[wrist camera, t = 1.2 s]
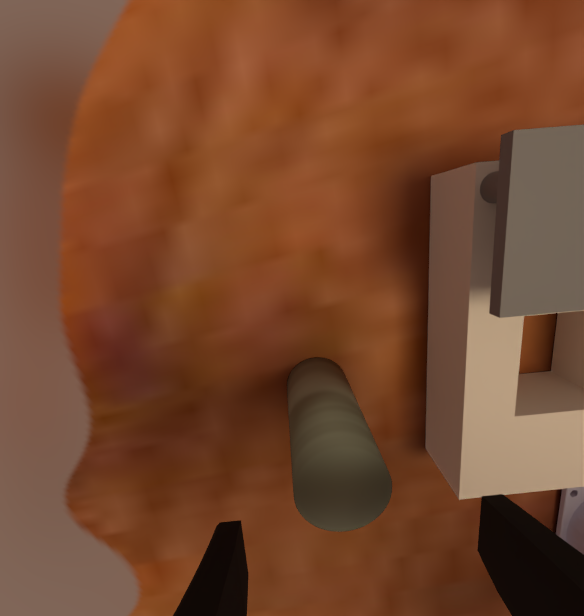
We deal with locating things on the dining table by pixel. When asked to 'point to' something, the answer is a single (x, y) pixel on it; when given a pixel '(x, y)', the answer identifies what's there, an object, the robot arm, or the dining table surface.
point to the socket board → (507, 317)
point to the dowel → (333, 450)
